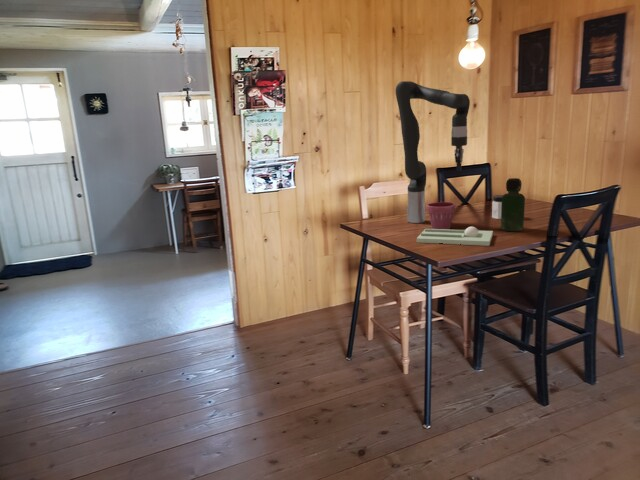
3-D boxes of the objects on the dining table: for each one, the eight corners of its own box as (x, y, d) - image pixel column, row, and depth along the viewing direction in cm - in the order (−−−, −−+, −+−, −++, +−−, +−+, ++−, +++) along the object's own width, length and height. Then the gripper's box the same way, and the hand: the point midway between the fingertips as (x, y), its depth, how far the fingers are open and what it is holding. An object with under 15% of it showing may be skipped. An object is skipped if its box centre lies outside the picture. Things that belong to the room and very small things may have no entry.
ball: (480, 235, 214) (469, 242, 216) (481, 233, 220) (470, 241, 222) (472, 224, 215) (461, 232, 217) (473, 223, 221) (462, 230, 223)
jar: (488, 217, 263) (489, 196, 260) (500, 215, 266) (500, 194, 263) (500, 219, 255) (501, 198, 252) (512, 218, 258) (513, 196, 255)
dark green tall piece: (500, 231, 230) (502, 180, 224) (500, 227, 239) (502, 177, 233) (523, 232, 226) (526, 180, 220) (523, 227, 235) (525, 177, 229)
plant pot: (421, 228, 247) (421, 204, 244) (443, 224, 253) (443, 200, 250) (438, 233, 235) (438, 207, 232) (461, 229, 240) (461, 204, 237)
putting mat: (416, 242, 220) (416, 236, 219) (425, 232, 237) (425, 226, 237) (489, 245, 207) (489, 239, 206) (492, 235, 224) (492, 228, 224)
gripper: (453, 135, 241) (453, 169, 245) (449, 136, 229) (449, 172, 234) (468, 134, 238) (468, 169, 242) (465, 136, 226) (464, 172, 230)
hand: (458, 170), depth 238 cm, fingers closed
